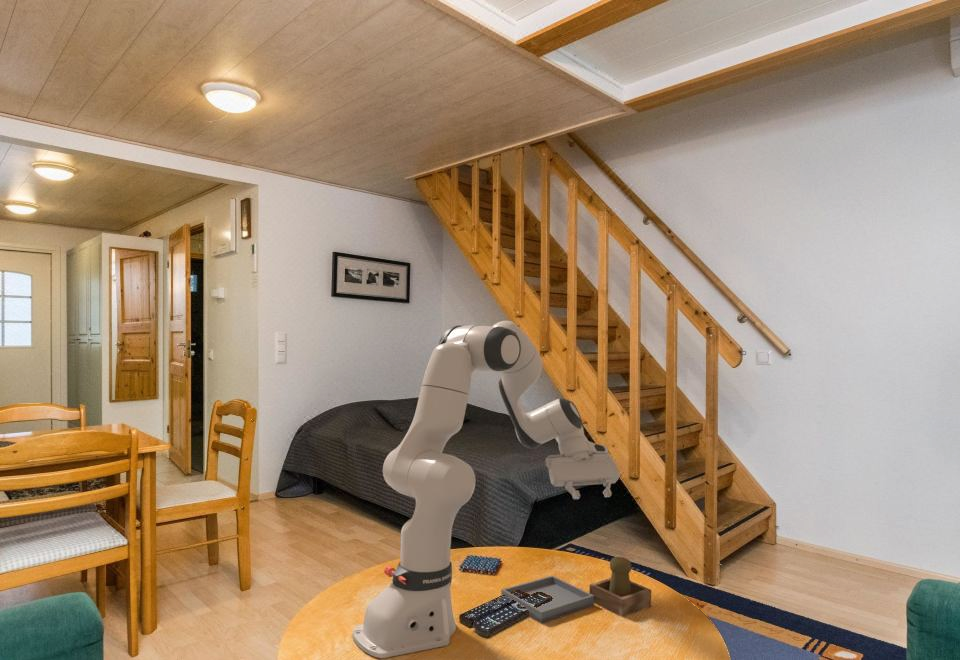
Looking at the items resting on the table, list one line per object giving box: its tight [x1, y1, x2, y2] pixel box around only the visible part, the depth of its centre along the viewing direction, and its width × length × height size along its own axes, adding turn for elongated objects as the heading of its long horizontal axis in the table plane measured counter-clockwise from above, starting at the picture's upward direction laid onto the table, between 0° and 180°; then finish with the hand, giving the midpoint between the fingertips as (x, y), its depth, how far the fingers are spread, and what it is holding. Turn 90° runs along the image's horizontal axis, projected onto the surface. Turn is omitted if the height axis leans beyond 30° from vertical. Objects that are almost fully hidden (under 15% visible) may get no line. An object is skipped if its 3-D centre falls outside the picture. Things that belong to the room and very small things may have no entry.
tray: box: [500, 575, 595, 624], centre depth 144 cm, size 17×15×2 cm
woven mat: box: [458, 554, 503, 576], centre depth 167 cm, size 10×11×2 cm
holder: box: [589, 577, 652, 618], centre depth 144 cm, size 10×10×4 cm
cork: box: [609, 556, 632, 597], centre depth 144 cm, size 6×6×11 cm
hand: (592, 497), depth 158 cm, fingers open, 8 cm apart
